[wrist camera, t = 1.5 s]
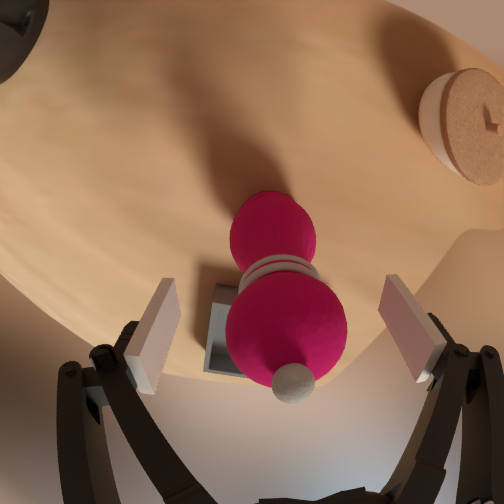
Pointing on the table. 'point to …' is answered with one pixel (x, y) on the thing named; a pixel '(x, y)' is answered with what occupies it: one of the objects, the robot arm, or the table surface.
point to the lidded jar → (465, 124)
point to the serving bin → (220, 334)
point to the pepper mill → (281, 300)
